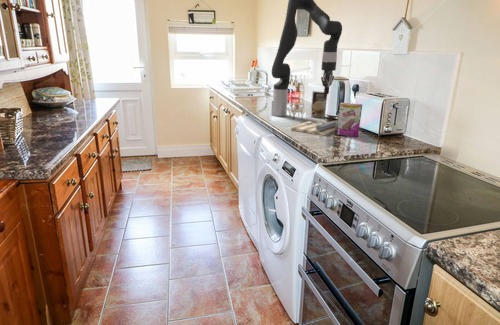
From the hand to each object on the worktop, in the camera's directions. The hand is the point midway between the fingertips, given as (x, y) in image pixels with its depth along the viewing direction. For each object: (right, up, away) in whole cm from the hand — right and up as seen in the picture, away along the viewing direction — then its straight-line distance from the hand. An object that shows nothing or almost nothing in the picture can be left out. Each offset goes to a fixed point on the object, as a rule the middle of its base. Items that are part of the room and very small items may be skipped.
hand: (326, 93), depth 189 cm
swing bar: (0, -19, -3) cm, 19 cm away
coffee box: (+3, -8, +37) cm, 38 cm away
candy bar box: (+9, -24, -10) cm, 27 cm away
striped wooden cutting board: (-5, -19, +3) cm, 20 cm away
